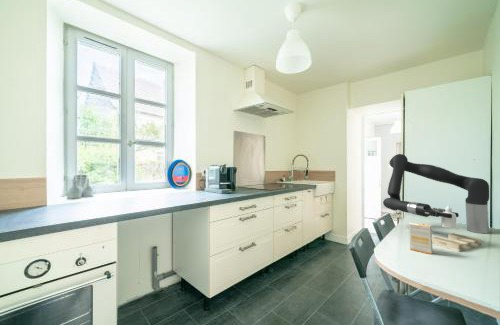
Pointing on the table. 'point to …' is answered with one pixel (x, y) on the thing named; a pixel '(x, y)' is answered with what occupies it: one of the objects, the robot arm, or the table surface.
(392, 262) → the table surface
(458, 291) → the table surface
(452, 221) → the eye dropper bottle
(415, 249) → the supplement box
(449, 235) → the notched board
